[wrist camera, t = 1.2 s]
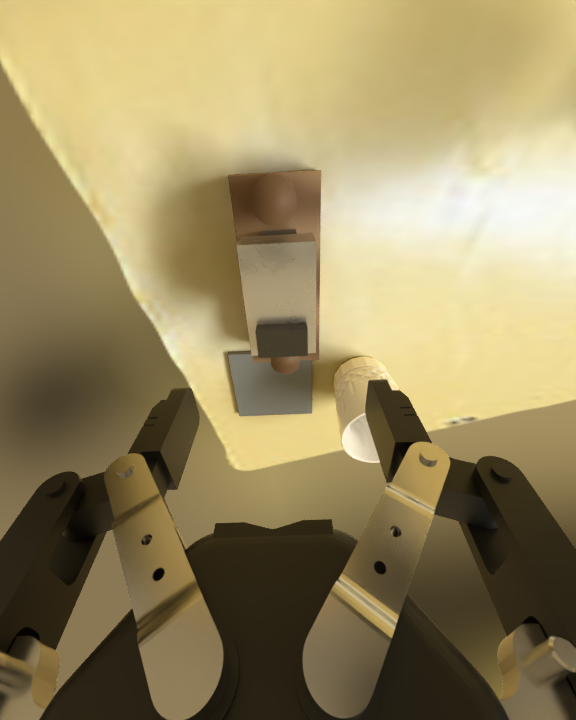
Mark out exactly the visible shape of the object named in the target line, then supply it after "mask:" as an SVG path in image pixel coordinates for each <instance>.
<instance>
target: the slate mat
mask: <svg viewBox="0 0 576 720" xmlns="http://www.w3.org/2000/svg"><path fill="white" fill-rule="evenodd" d="M228 359H229V364H230V370H231V375H232V380H233V385H234V391H235V396H236V401H237V406H238V412H239V416H258V415H283V414H308V413H312V360H300V364H299V367H298V368H297V370H296V371H294V372H292V373H290V374H281V373H278V372H276V371H275V370H274V369H273V368H272V366H271V362H254V363H253V356H251V351H245V352H228Z"/></svg>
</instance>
